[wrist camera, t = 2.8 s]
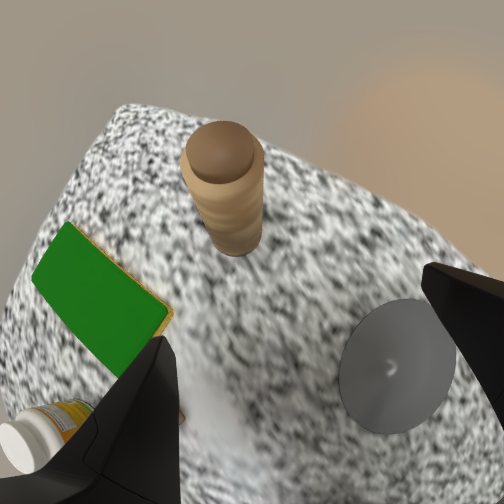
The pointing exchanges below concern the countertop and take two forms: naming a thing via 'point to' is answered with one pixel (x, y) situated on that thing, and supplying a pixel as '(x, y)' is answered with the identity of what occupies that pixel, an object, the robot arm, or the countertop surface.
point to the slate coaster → (396, 367)
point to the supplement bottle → (41, 433)
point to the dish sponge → (99, 299)
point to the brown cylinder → (226, 184)
